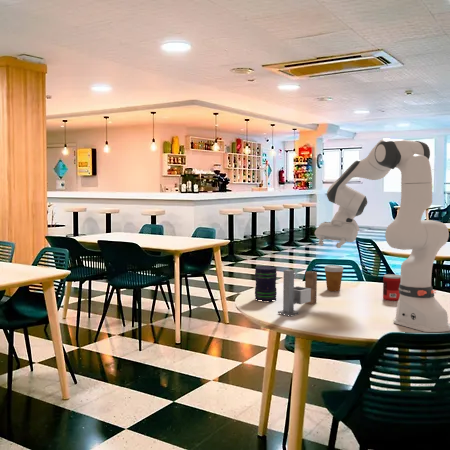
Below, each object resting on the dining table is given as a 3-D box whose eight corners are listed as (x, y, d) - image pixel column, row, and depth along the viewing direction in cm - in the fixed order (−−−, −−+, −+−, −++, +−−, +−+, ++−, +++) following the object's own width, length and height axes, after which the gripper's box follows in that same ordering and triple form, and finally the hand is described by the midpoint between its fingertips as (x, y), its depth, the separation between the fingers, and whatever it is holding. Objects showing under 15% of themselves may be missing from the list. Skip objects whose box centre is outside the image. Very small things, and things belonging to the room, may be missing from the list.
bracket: (296, 308, 221) (297, 266, 220) (310, 311, 216) (311, 268, 215) (277, 313, 211) (277, 270, 210) (290, 316, 206) (291, 272, 205)
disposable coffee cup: (345, 289, 260) (346, 265, 259) (339, 292, 252) (340, 268, 251) (327, 287, 265) (328, 264, 264) (321, 290, 257) (321, 266, 256)
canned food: (404, 299, 237) (405, 276, 236) (392, 301, 233) (393, 277, 232) (391, 296, 244) (391, 273, 243) (379, 298, 240) (379, 275, 239)
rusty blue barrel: (258, 302, 231) (258, 269, 230) (252, 298, 241) (252, 266, 239) (279, 301, 233) (279, 268, 232) (272, 297, 243) (272, 265, 242)
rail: (309, 301, 233) (310, 271, 232) (316, 303, 230) (316, 271, 229) (304, 303, 230) (305, 272, 229) (311, 304, 228) (312, 272, 227)
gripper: (319, 217, 248) (307, 239, 242) (357, 220, 234) (345, 243, 228) (324, 226, 251) (312, 247, 245) (362, 229, 237) (350, 252, 231)
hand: (328, 246), depth 236 cm, fingers open, 8 cm apart
